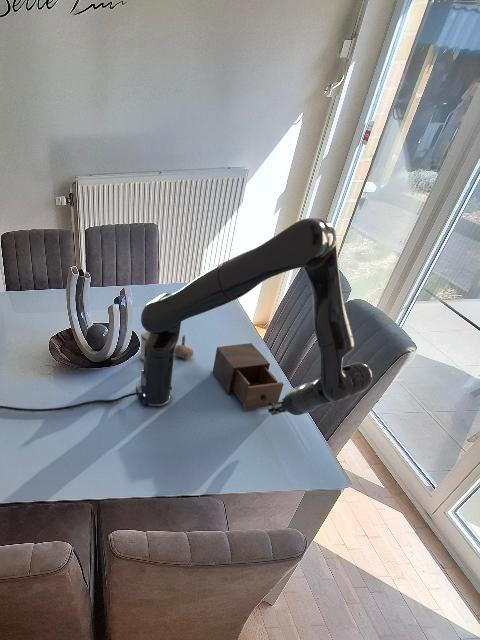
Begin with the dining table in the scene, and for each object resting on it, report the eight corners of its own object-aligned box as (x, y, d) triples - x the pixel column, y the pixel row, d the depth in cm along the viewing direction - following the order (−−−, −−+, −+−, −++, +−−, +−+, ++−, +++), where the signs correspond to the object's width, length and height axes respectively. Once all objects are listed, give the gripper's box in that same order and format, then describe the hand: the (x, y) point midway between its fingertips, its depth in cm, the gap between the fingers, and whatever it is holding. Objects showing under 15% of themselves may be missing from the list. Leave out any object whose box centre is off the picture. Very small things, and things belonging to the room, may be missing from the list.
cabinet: (263, 389, 155) (270, 363, 148) (228, 394, 154) (233, 367, 147) (245, 368, 165) (251, 342, 158) (212, 372, 164) (216, 346, 157)
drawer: (278, 407, 146) (285, 385, 141) (245, 412, 145) (250, 390, 139) (259, 383, 156) (264, 362, 150) (227, 387, 155) (232, 366, 149)
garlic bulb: (169, 353, 174) (171, 333, 168) (186, 350, 175) (189, 329, 170) (177, 362, 169) (180, 342, 163) (195, 359, 170) (198, 338, 165)
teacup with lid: (145, 365, 168) (146, 334, 160) (136, 353, 174) (137, 323, 166) (175, 359, 171) (178, 329, 162) (165, 348, 177) (168, 318, 168)
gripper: (326, 381, 122) (291, 396, 140) (280, 387, 121) (251, 401, 138) (330, 409, 123) (294, 420, 140) (284, 415, 121) (254, 426, 138)
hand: (273, 411), depth 139 cm, fingers closed
